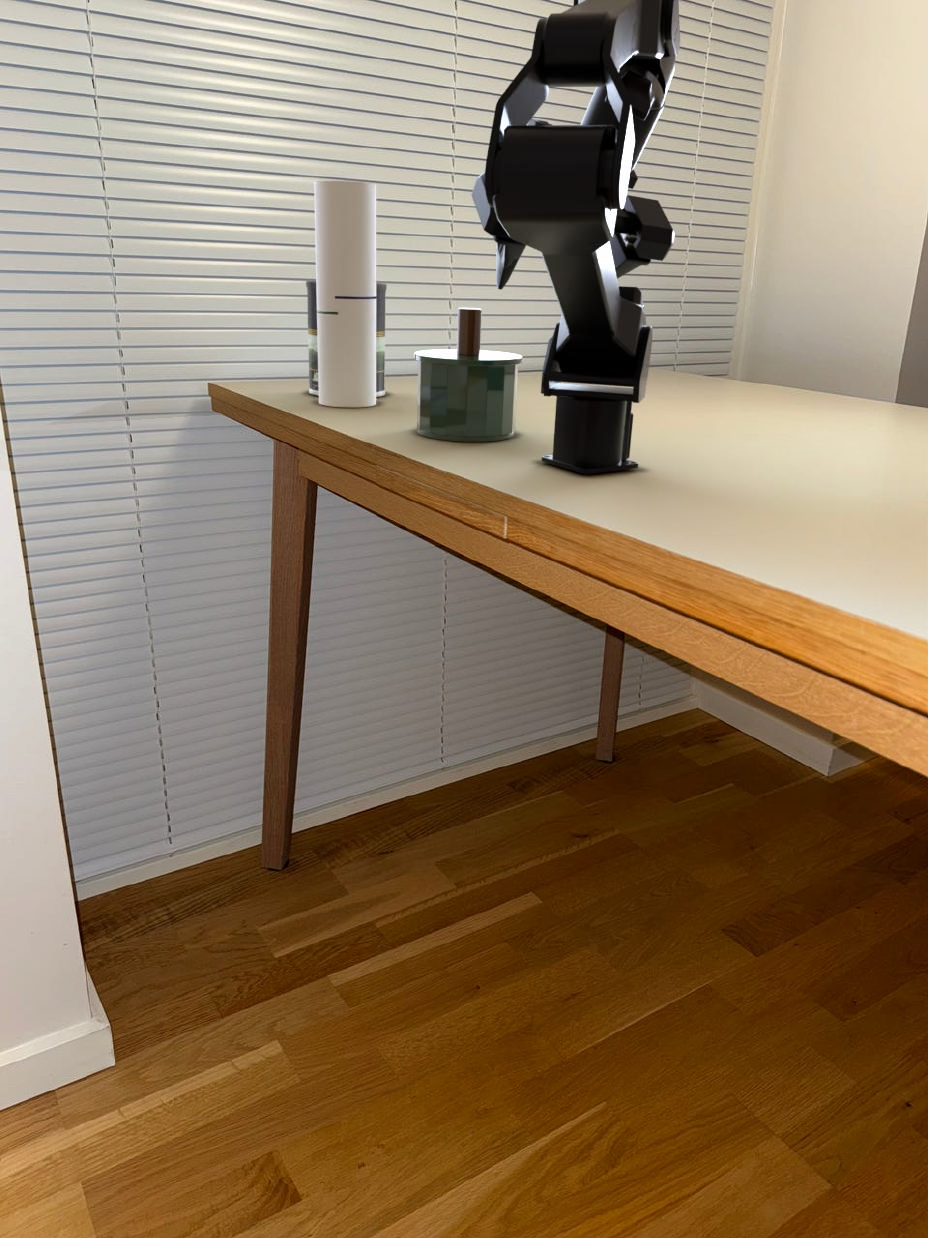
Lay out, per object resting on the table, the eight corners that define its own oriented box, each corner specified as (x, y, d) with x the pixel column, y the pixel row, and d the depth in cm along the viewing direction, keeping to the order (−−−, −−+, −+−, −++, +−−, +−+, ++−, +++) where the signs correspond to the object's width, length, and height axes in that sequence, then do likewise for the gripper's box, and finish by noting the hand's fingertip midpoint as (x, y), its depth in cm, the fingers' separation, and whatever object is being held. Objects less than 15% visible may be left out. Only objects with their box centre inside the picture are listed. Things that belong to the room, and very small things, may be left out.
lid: (451, 374, 89) (453, 311, 87) (394, 362, 98) (394, 305, 96) (543, 370, 95) (547, 311, 93) (482, 359, 104) (484, 305, 102)
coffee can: (381, 400, 120) (381, 284, 115) (301, 397, 120) (298, 281, 115) (390, 389, 129) (390, 282, 124) (316, 387, 130) (314, 279, 125)
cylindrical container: (372, 408, 113) (372, 181, 104) (314, 406, 113) (309, 179, 104) (379, 400, 120) (379, 186, 111) (323, 398, 120) (319, 184, 111)
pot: (451, 444, 92) (453, 367, 90) (400, 428, 100) (401, 356, 98) (533, 437, 98) (537, 364, 95) (478, 422, 106) (481, 354, 103)
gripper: (671, 109, 87) (600, 251, 99) (487, 68, 80) (436, 226, 92) (712, 182, 81) (632, 322, 93) (518, 145, 74) (459, 302, 87)
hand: (541, 291), depth 92 cm, fingers open, 9 cm apart
